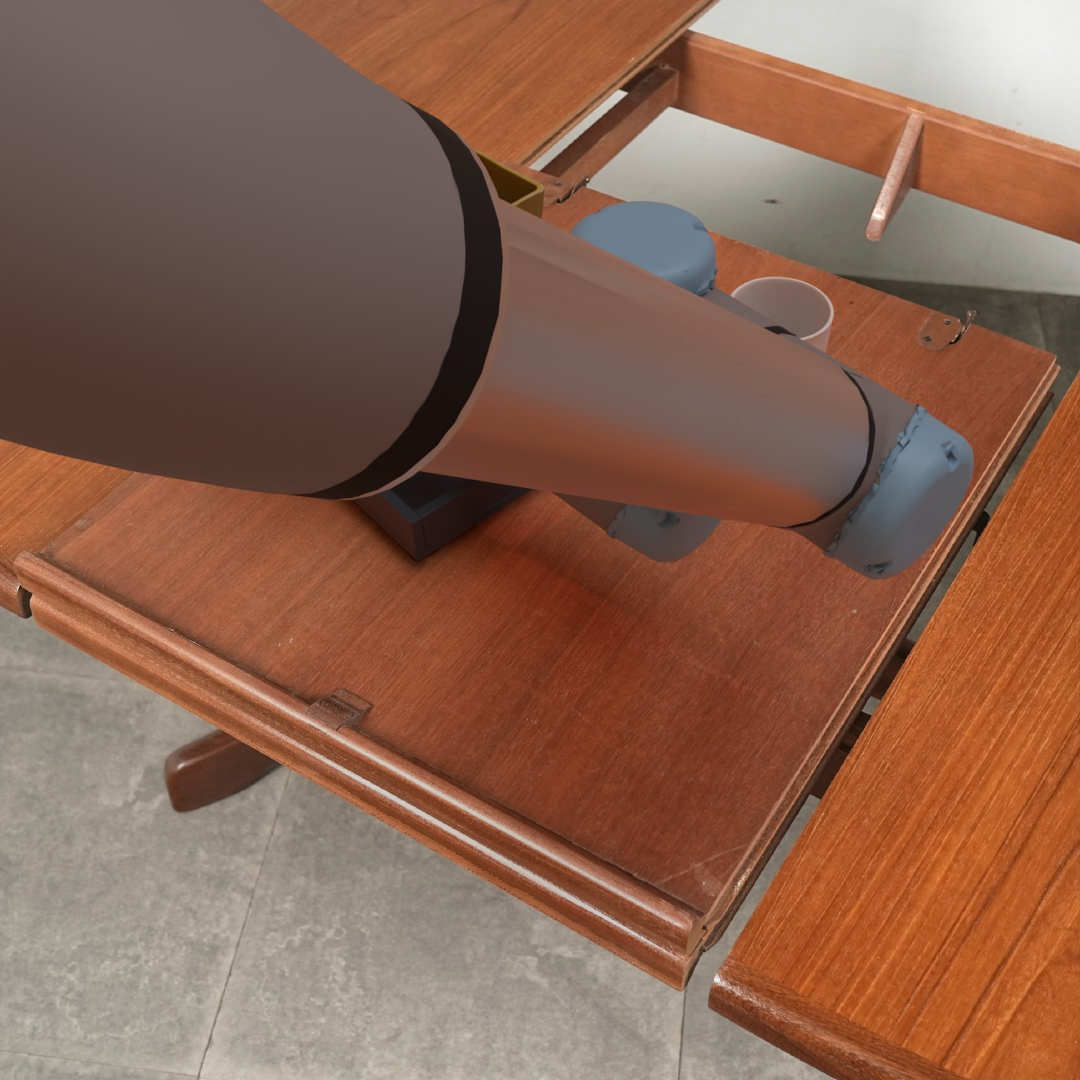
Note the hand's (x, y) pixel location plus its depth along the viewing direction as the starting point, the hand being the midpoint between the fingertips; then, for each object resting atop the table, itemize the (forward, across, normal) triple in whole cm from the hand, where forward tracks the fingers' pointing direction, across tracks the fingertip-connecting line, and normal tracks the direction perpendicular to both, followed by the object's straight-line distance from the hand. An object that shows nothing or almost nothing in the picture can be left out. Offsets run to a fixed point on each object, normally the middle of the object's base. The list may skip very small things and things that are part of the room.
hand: (278, 240), depth 84 cm
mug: (-29, +17, -12) cm, 36 cm away
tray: (-10, 0, -12) cm, 16 cm away
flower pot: (-2, +16, -12) cm, 20 cm away
